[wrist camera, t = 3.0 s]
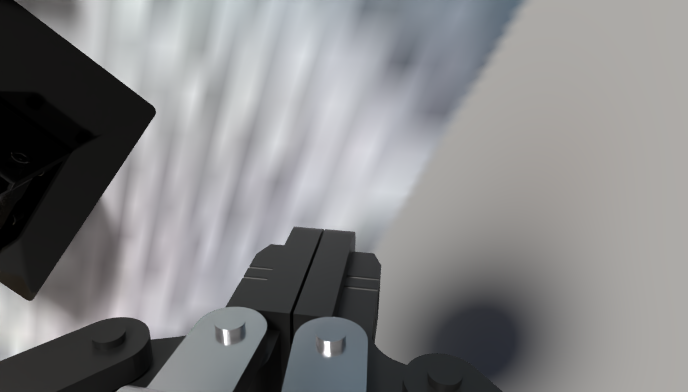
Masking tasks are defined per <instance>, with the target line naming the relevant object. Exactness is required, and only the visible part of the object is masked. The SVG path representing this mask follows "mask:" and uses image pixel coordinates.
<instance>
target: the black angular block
mask: <svg viewBox="0 0 688 392" xmlns="http://www.w3.org/2000/svg"><path fill="white" fill-rule="evenodd" d="M155 114H156V110H155V108H154V107H153V106H152V105H151V104H150V103H148V102H147V101H146V100H144V99H143V98H142V97H140V96H139V95H138V94H136V93H135V92H134V91H133V90H131V89H130V88H129V87H127V86H126V85H125V84H123V83H122V82H121V81H119V80H118V79H117V78H115V77H114V76H113V75H111V74H110V73H109V72H108V71H106V70H105V69H104V68H102V67H101V66H100V65H98V64H97V63H96V62H94V61H93V60H92V59H90V58H89V57H88V56H86V55H85V54H84V53H83V52H81V51H80V50H79V49H77V48H76V47H75V46H73V45H72V44H71V43H69V42H68V41H67V40H65V39H64V38H63V37H61V36H60V35H59V34H58V33H56V32H55V31H54V30H52V29H51V28H50V27H48V26H47V25H46V24H44V23H43V22H42V21H40V20H39V19H38V18H36V17H35V16H34V15H33V14H31V13H30V12H29V11H27V10H26V9H25V8H23V7H22V6H21V5H19V4H18V3H17V2H15V1H14V0H0V282H1V283H2V284H4V285H5V286H7V287H8V288H10V289H11V290H13V291H14V292H16V293H17V294H19V295H20V296H22V297H23V298H25V299H26V300H29V301H31V300H33V299H34V297H35V296H36V294H37V292H38V291H39V289H40V288H41V286H42V285H43V283H44V282H45V280H46V279H47V277H48V276H49V274H50V273H51V271H52V270H53V268H54V267H55V265H56V264H57V262H58V261H59V259H60V258H61V256H62V255H63V253H64V252H65V250H66V249H67V247H68V246H69V244H70V243H71V241H72V240H73V238H74V237H75V235H76V234H77V232H78V231H79V229H80V228H81V226H82V225H83V223H84V222H85V220H86V219H87V217H88V216H89V214H90V213H91V211H92V209H93V208H94V206H95V205H96V203H97V202H98V200H99V199H100V197H101V196H102V194H103V193H104V191H105V190H106V188H107V187H108V185H109V184H110V182H111V181H112V179H113V178H114V176H115V175H116V173H117V172H118V170H119V169H120V167H121V166H122V164H123V163H124V161H125V160H126V158H127V157H128V155H129V154H130V152H131V151H132V149H133V148H134V146H135V145H136V143H137V142H138V140H139V139H140V137H141V136H142V134H143V133H144V131H145V129H146V128H147V126H148V125H149V123H150V122H151V120H152V119H153V117H154V116H155Z"/></svg>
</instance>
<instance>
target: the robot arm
mask: <svg viewBox="0 0 688 392" xmlns="http://www.w3.org/2000/svg"><path fill="white" fill-rule="evenodd" d="M380 275H381V264H380V263H379V261H378V259H377V258H376V256H375V254H373V253H362V252H355V232H350V231H339V230H327V229H325V231H324V229H315V228H303V227H294V228H293V229H292V231H291V233H290V235H289V237H288V239H287V241H286V243H285V245H274V244H271V245H269V246H268V247H266V248H265V249H263V250H262V251H260V252H259V253H257V254H256V256H255V258H254V259H253V261H252V263H251V264H250V268H248V270H247V271H246V273H245V275H244V278H242V280H241V282H240V283H239V285H238V287H237V288H236V290H235V292H234V294H233V295H232V297H231V299H230V300H229V302H228V304H227V306H226V307H225V308H221V309H217V310H214V311H212V312H210V313H208V314H206V315H204V316H203V317H202V318H201V319H200V320H199V321H198V322H197V323H196V324H195V325H194V327H193V328H192V329H191V331H190V332H189V333H188V335H186V336H180V337H172V338H163V339H154V340H151V338H150V332H149V329H148V327H147V325H146V324H145V323H143V322H142V321H140V320H137V319H134V318H127V317H119V318H110V319H106V320H102V321H99V322H96V323H93V324H91V325H88V326H86V327H83V328H81V329H79V330H76V331H74V332H71V333H69V334H66V335H64V336H61V337H59V338H56V339H54V340H51V341H49V342H46V343H44V344H41V345H39V346H37V347H34V348H32V349H29V350H27V351H24V352H22V353H19V354H17V355H14V356H12V357H9V358H7V359H4V360H2V361H0V392H502V391H501V390H500V389H499V388H498V387H497V386H495V385H494V384H493V383H492V382H491V381H490V380H489V379H487V378H486V377H485V376H484V375H483V374H482V373H481V372H479V371H478V370H477V369H476V368H475V367H474V366H472V365H471V364H470V363H468V362H466V361H464V360H463V359H460V358H458V357H455V356H451V355H447V354H438V353H437V354H427V355H422V356H419V357H417V358H415V359H414V360H412V361H411V362H410V363H409V364H408V365H405V364H403V363H400V362H397V361H395V360H392V359H391V358H389V357H387V356H386V355H385V354H383V353H382V352H381V351H380V350H379V349H378V348H377V347H376V345H375V344H374V343H375V335H376V327H377V320H378V306H379V291H380Z"/></svg>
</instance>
